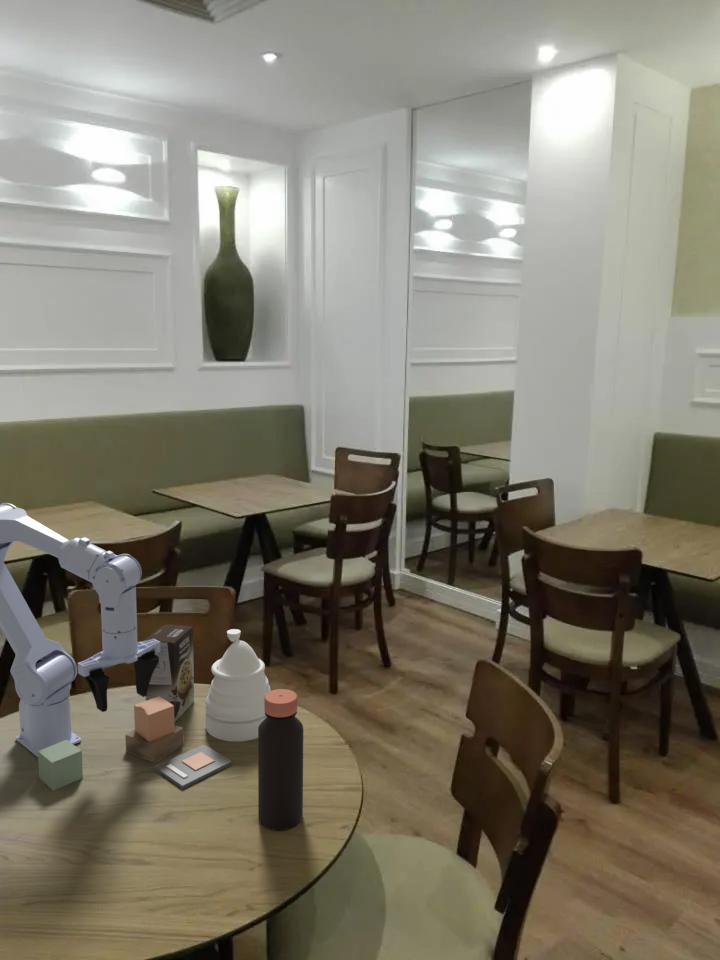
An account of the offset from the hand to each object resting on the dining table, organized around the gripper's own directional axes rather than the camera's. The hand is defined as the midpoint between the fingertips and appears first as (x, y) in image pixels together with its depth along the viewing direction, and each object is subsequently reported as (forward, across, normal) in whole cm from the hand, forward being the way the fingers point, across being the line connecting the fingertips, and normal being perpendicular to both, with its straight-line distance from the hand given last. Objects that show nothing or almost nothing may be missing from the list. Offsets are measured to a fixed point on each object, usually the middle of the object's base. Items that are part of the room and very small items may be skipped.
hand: (122, 701), depth 129 cm
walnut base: (+10, +5, -2) cm, 12 cm away
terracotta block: (+7, +5, -2) cm, 9 cm away
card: (+10, +6, -12) cm, 17 cm away
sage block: (+10, -11, +1) cm, 15 cm away
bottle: (+10, +7, -33) cm, 35 cm away
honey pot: (+10, +21, -6) cm, 24 cm away
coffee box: (+10, +15, +8) cm, 20 cm away
